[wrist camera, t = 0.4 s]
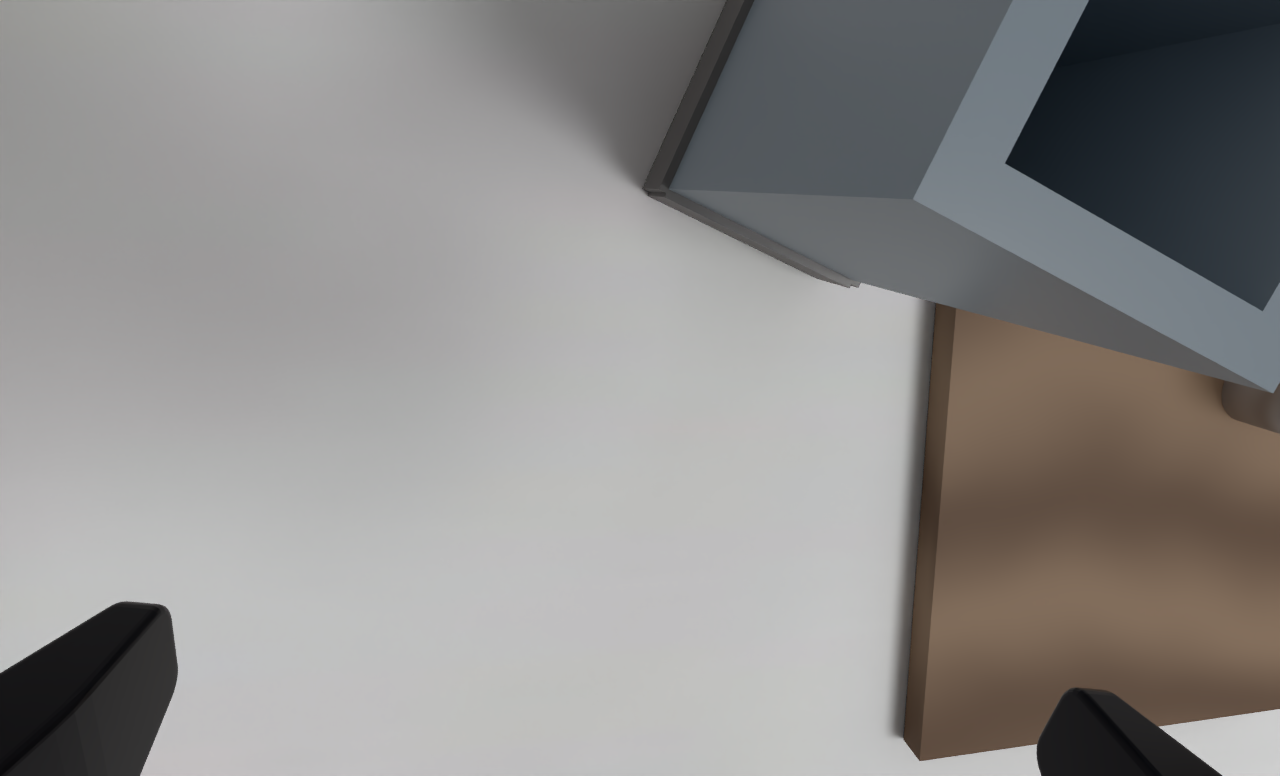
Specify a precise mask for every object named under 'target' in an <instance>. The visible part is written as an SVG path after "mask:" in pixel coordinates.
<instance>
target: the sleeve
mask: <svg viewBox="0 0 1280 776" xmlns="http://www.w3.org/2000/svg"><path fill="white" fill-rule="evenodd" d="M642 189H644V190H646V191H648V192H649V194H648V196H649V197H651V198H653V199H655V200H657V201H659V202H662V203H664V204H666V205H668V206H670V207H672V208H674V209H676V210H678V211H680V212H682V213H684V214H686V215H688V216H690V217H692V218H694V219H696V220H698V221H700V222H702V223H704V224H706V225H709V226H711V227H713V228H715V229H717V230H719V231H721V232H723V233H725V234H727V235H729V236H731V237H733V238H735V239H737V240H739V241H741V242H743V243H745V244H747V245H749V246H751V247H754V248H756V249H758V250H760V251H762V252H764V253H766V254H768V255H770V256H772V257H774V258H776V259H778V260H780V261H782V262H784V263H786V264H788V265H790V266H792V267H794V268H796V269H798V270H801V271H803V272H805V273H807V274H809V275H811V276H813V277H815V278H817V279H820V280H823V281H827V282H830V283H834V284H837V285H841V286H844V287H847V288H850V286H854V287H859V285H860V283H865V284H868V285H872V286H876V287H879V288H883V289H887V290H891V291H894V292H898V293H902V294H905V295H909V296H913V297H917V298H920V299H924V300H928V301H931V302H935V303H939V304H943V305H946V306H950V307H954V308H957V309H961V310H965V311H969V312H972V313H976V314H980V315H984V316H987V317H991V318H995V319H998V320H1002V321H1006V322H1010V323H1013V324H1017V325H1021V326H1024V327H1028V328H1032V329H1036V330H1039V331H1043V332H1047V333H1050V334H1054V335H1058V336H1062V337H1065V338H1069V339H1073V340H1076V341H1080V342H1084V343H1088V344H1091V345H1095V346H1099V347H1102V348H1106V349H1110V350H1114V351H1117V352H1121V353H1125V354H1128V355H1132V356H1136V357H1140V358H1143V359H1147V360H1151V361H1154V362H1158V363H1162V364H1166V365H1169V366H1173V367H1177V368H1180V369H1184V370H1188V371H1192V372H1195V373H1199V374H1203V375H1206V376H1210V377H1214V378H1218V379H1221V380H1225V381H1229V382H1232V383H1236V384H1240V385H1244V386H1247V387H1251V388H1255V389H1258V390H1262V391H1266V392H1270V393H1274V391H1275V390H1276V388H1277V386H1278V384H1279V383H1280V0H727V2H726V4H725V6H724V8H723V10H722V13H721V15H720V17H719V19H718V22H717V24H716V26H715V28H714V30H713V33H712V35H711V37H710V39H709V42H708V44H707V46H706V48H705V50H704V53H703V55H702V57H701V59H700V62H699V64H698V66H697V68H696V70H695V73H694V75H693V77H692V79H691V82H690V84H689V86H688V88H687V90H686V93H685V95H684V97H683V99H682V102H681V104H680V106H679V108H678V110H677V113H676V115H675V117H674V119H673V122H672V124H671V126H670V128H669V130H668V133H667V135H666V137H665V139H664V142H663V144H662V146H661V148H660V150H659V153H658V155H657V157H656V159H655V162H654V164H653V166H652V168H651V170H650V173H649V175H648V177H647V179H646V182H645V184H644V186H643V188H642Z"/></svg>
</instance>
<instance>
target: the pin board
mask: <svg viewBox="0 0 1280 776" xmlns="http://www.w3.org/2000/svg"><path fill="white" fill-rule="evenodd" d="M1074 687H1079V688H1090V689H1101V690H1106V691H1110V692H1112V693H1114V694H1115V695H1117V696H1118V697H1120V698H1121V699H1122V700H1124V701H1125V702H1126V703H1127V704H1129V705H1130V706H1131V707H1133V708H1134V709H1135V710H1137V711H1138V712H1139V713H1141V714H1142V715H1143V716H1145V717H1146V718H1147V719H1148V720H1150V721H1151V722H1152V723H1154V724H1155V725H1156V726H1165V725H1172V724H1179V723H1186V722H1192V721H1199V720H1206V719H1213V718H1220V717H1227V716H1234V715H1241V714H1248V713H1254V712H1261V711H1268V710H1275V709H1280V383H1279V384H1278V386H1277V388H1276V390H1275V391H1274V393H1270V392H1266V391H1262V390H1258V389H1255V388H1251V387H1247V386H1244V385H1240V384H1236V383H1232V382H1229V381H1225V380H1221V379H1218V378H1214V377H1210V376H1206V375H1203V374H1199V373H1195V372H1192V371H1188V370H1184V369H1180V368H1177V367H1173V366H1169V365H1166V364H1162V363H1158V362H1154V361H1151V360H1147V359H1143V358H1140V357H1136V356H1132V355H1128V354H1125V353H1121V352H1117V351H1114V350H1110V349H1106V348H1102V347H1099V346H1095V345H1091V344H1088V343H1084V342H1080V341H1076V340H1073V339H1069V338H1065V337H1062V336H1058V335H1054V334H1050V333H1047V332H1043V331H1039V330H1036V329H1032V328H1028V327H1024V326H1021V325H1017V324H1013V323H1010V322H1006V321H1002V320H998V319H995V318H991V317H987V316H984V315H980V314H976V313H972V312H969V311H965V310H961V309H957V308H954V307H950V306H946V305H943V304H939V303H936V311H935V324H934V338H933V351H932V365H931V378H930V392H929V405H928V418H927V432H926V445H925V459H924V472H923V486H922V499H921V512H920V526H919V539H918V553H917V566H916V580H915V593H914V607H913V620H912V633H911V647H910V660H909V674H908V687H907V701H906V714H905V727H904V741H905V742H906V743H907V745H908V746H909V747H910V749H911V750H912V751H913V753H914V754H915V755H916V757H917V758H918V759H919V761H924V760H930V759H937V758H944V757H951V756H958V755H965V754H972V753H979V752H986V751H993V750H999V749H1006V748H1013V747H1020V746H1027V745H1034V744H1037V743H1038V739H1039V737H1040V735H1041V733H1042V731H1043V729H1044V727H1045V726H1046V724H1047V722H1048V720H1049V718H1050V716H1051V715H1052V713H1053V711H1054V709H1055V707H1056V705H1057V704H1058V702H1059V700H1060V698H1061V696H1062V695H1063V694H1064V692H1066V691H1067V690H1069V689H1070V688H1074Z"/></svg>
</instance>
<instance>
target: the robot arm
mask: <svg viewBox="0 0 1280 776" xmlns="http://www.w3.org/2000/svg"><path fill="white" fill-rule="evenodd" d="M177 675H178V664H177V657H176V649H175V642H174V634H173V626H172V619H171V615H170V612H169V610H168V609H167V608H166V607H165V606H163V605H160V604H150V603H139V602H128V601H126V602H119V603H116V604H114V605H112V606H110V607H108V608H107V609H105V610H103V611H102V612H100V613H98V614H97V615H95V616H93V617H92V618H90V619H88V620H87V621H85V622H84V623H82V624H80V625H79V626H77V627H75V628H74V629H72V630H70V631H69V632H67V633H65V634H64V635H62V636H61V637H59V638H57V639H56V640H54V641H52V642H51V643H49V644H47V645H46V646H44V647H43V648H41V649H39V650H38V651H36V652H34V653H33V654H31V655H29V656H28V657H26V658H24V659H23V660H21V661H20V662H18V663H16V664H15V665H13V666H11V667H10V668H8V669H6V670H5V671H3V672H1V673H0V776H140V774H141V772H142V769H143V767H144V764H145V762H146V760H147V757H148V755H149V752H150V750H151V747H152V745H153V742H154V740H155V737H156V735H157V733H158V730H159V728H160V725H161V723H162V720H163V718H164V715H165V713H166V711H167V708H168V706H169V703H170V701H171V698H172V696H173V693H174V690H175V686H176V682H177ZM1037 761H1038V766H1039V769H1040V773H1041V776H1222V775H1221V774H1220V773H1218V772H1217V771H1216V770H1214V769H1213V768H1212V767H1210V766H1209V765H1208V764H1206V763H1205V762H1204V761H1202V760H1201V759H1200V758H1198V757H1197V756H1196V755H1195V754H1193V753H1192V752H1191V751H1189V750H1188V749H1187V748H1185V747H1184V746H1183V745H1181V744H1180V743H1179V742H1177V741H1176V740H1175V739H1173V738H1172V737H1171V736H1170V735H1168V734H1167V733H1166V732H1164V731H1163V730H1162V729H1160V728H1159V727H1158V726H1156V725H1155V724H1154V723H1152V722H1151V721H1150V720H1148V719H1147V718H1146V717H1145V716H1143V715H1142V714H1141V713H1139V712H1138V711H1137V710H1135V709H1134V708H1133V707H1131V706H1130V705H1129V704H1127V703H1126V702H1125V701H1124V700H1122V699H1121V698H1120V697H1118V696H1117V695H1115V694H1114V693H1112V692H1110V691H1106V690H1101V689H1090V688H1079V687H1074V688H1070V689H1069V690H1067V691H1066V692H1064V694H1063V695H1062V696H1061V698H1060V700H1059V702H1058V704H1057V705H1056V707H1055V709H1054V711H1053V713H1052V715H1051V716H1050V718H1049V720H1048V722H1047V724H1046V726H1045V727H1044V729H1043V731H1042V733H1041V735H1040V737H1039V739H1038V743H1037Z"/></svg>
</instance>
